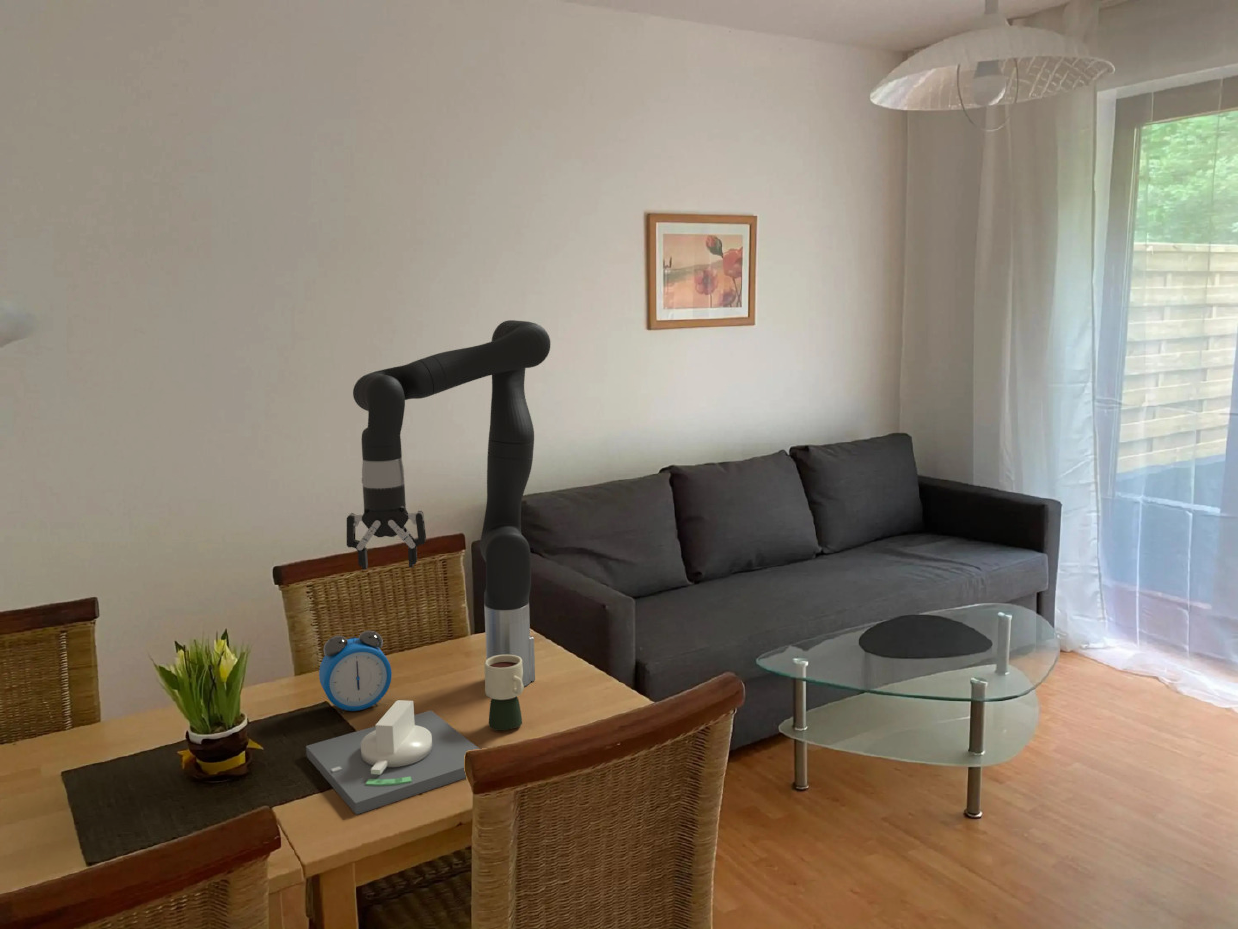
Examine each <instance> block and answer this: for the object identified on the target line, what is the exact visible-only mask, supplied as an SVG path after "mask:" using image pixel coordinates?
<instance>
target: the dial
mask: <svg viewBox="0 0 1238 929" xmlns="http://www.w3.org/2000/svg"><path fill="white" fill-rule="evenodd" d="M414 715H415V707H414V701H413V700H399V699H398V700H396V701H395V702H394V703H393V705H391V707H390V708H389V709H388V710H387V711H386V712H385V714H383V716H382V717H380V719H379V721H378V722H376V724H375V726H376V730H374V731H372V732H371V733H369V734H367V735H366V736H365V737H364V738H363V739H362V741H361V756H362V759H363V760H364V761H365V762H366V763H368V764H370V765H373V767H372V769H371V774H381V773H382V772H383V771H384V769H385V768H386V767H399V766H405V765H409V764H412V763H415V762H417V761H420V760H422V759H423V758H425V757H426V756H427V755H428V754H429V753H430V752H431V750H432V735H431V733H430V731H429V730H427V729H426V728H424V727H421V726H417V725H415V722H414Z"/></svg>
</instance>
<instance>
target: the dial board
mask: <svg viewBox="0 0 1238 929" xmlns="http://www.w3.org/2000/svg"><path fill="white" fill-rule="evenodd" d="M414 722H415V725H417V726H421V727H424V728H426V729H427V730H429V731H430V733H431V735H432V750H431V752H430V753H429V754H428V755H427V756H426V757H425V758H423V759H422V760H420V761H417V762H415V763H412V764H409V765H405V766H399V767H386V768H385V769H384V771H383V772H382V773H381V774H371V769H372V767H373V765H370V764H368V763H366V762H365V761H364V760H363V759H362V756H361V741H362V739H363V738H364V737H365V736H366V735H367V734H369V733H371V732H372V731H374V730H376V726H371V727H367V728H364V729H361V730H360V729H359V730H358V731H354V732H349V733H346V734H343V735H340V736H336V737H332V738H328V739H326V740H325V739H324V740H322V741H318V742H315V743H312V744H309V745H305V752H306V753H305V754H306V755H305V756H306V758H307V759H308V760H309V761H310V762H311V764H312V765H313V766H314V767H315V768H316V769H317V770H318V772H319V771H320V772H319V773H320V774H321V775H322V776H323V778H324V779H325V780H326V781H327V783H329V785H330V786H331V787H332V788H333V789H334V790H335V792H336V793H337V794H338V795H339V796H340V798H342V800H343V801H344V803H345V804H346V805H348V807H349V808H350V809H351V811H352V812H353V814H355V815H360V814H362V813H367V812H369V811H371V810H375V809H378V808H381V807H384V806H387V805H389V804H392V803H395V802H398V801H402V800H404V799H408V798H411V797H414V796H416V795H420V794H422V793H426V792H429V791H432V790H434V789H437V788H440V787H442V786H446V785H449V784H453V783H455V782H459V781H461V780H464V779H467V778H466V775H465V771H464V755H465V754H466V751H468V750H473V749H480V748H479V747H478V746H477V745H476V744H475V743H473V742H471V741H470V740H469V739H468V738H467V737H465V736H464V735H463V734H462V733H460V732H459V731H458V730H456V729H455V728H454V727H453V726H451V725H450V724H449V723H448V722H446V720H444V719H443V718H442V717H440V716H439V715H438V714H436V713H435V712H434V711H432V710H427V711H425V712H421V713H417V714H414Z"/></svg>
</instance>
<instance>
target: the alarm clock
mask: <svg viewBox="0 0 1238 929" xmlns="http://www.w3.org/2000/svg"><path fill="white" fill-rule="evenodd" d="M383 645H384V640H383V637H382V636H381V635H380V634H379V633H378V632H377V631H376V630H374V631H373V630H364V631H363V632H361V633H360V634H359V635H358V638H357V636H356V635H355V636H350V638H348V639H347V638H346V637H345V636H342V635H335V636H332V637H330V638H329V639H328V640H327V641H326V642H325V644H324V646H323V653H324V657H323V658H322V660H321V662H320V666H319V668H318V669H319V671H318V677H319V683H320V685H321V688H322V689H323V691H324V693H325V696H326V697H327V699H328V701H329V702H331V704H332V705H334V706H335V707H337V708H339V709H341V713H340V714H344V712H345V711H349V712H357V711H362V710H366V709H369V708H370V707H372V706H375V707H378V706H379V705H378V704H377V703H379V701H380V700H382V699H383V697H385V695H386V693H387V691H388V690H389V688H390V686H391V682H392V674H393V672H392V666H391V663H390V660H388V658H387V656H386V655H385V653H384V652H383V651H382V650H381V649H380V648H383Z"/></svg>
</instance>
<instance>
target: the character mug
mask: <svg viewBox="0 0 1238 929" xmlns="http://www.w3.org/2000/svg"><path fill="white" fill-rule="evenodd" d="M522 677H523V667H522V659H521V658H520V657H519V656H515V655H497V656H493V657H490V658H488V659H487V660H484V687H485V688H484V690H485V695H486V697H488V698H490V704H489V712H488V726H489V728H491V729H492V730H494V731H506V730H507V731H508V730H511V729H515V728H519V727H521V726H522V725H523V718H522V710H521V706H520V701H519V698H518V697H519V696H520V695H521V694H522V692H523V691H524V687H525V686H523V683H522Z"/></svg>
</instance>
